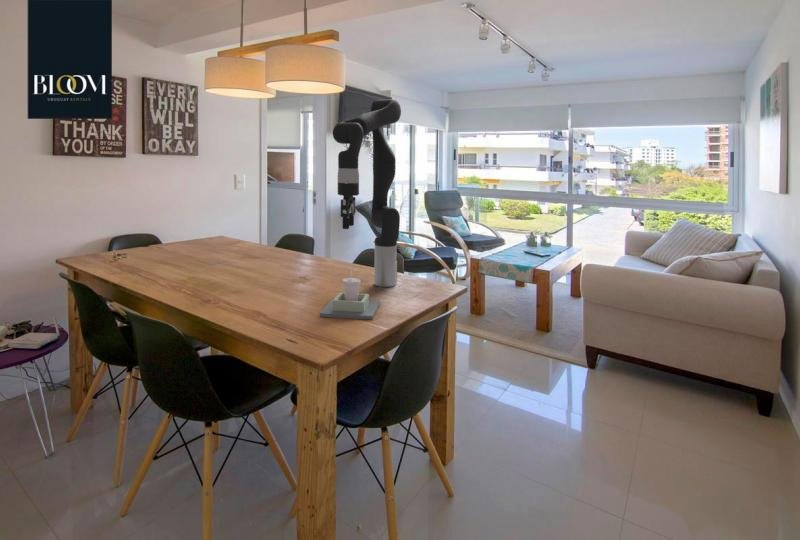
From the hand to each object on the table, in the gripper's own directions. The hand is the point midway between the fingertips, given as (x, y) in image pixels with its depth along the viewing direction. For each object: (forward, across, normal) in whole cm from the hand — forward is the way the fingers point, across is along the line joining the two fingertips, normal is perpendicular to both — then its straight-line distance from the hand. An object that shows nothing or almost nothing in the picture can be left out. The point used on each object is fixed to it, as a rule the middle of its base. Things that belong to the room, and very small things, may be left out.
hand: (348, 227), depth 174 cm
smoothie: (+27, +9, +3) cm, 29 cm away
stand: (+28, +9, +3) cm, 30 cm away
